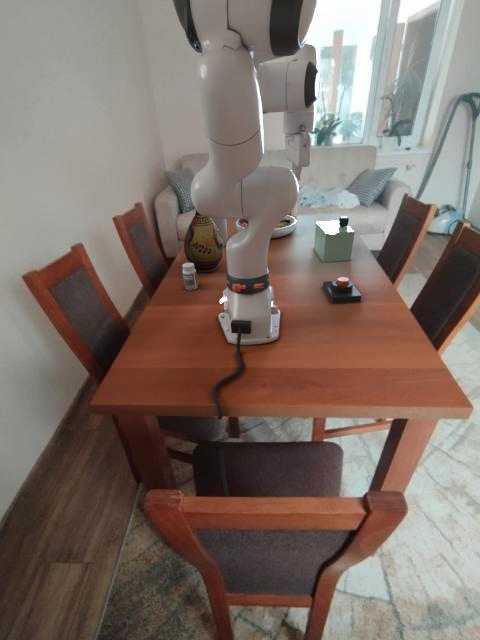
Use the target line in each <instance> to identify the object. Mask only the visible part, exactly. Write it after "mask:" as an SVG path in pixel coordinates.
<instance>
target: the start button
mask: <svg viewBox="0 0 480 640" xmlns="http://www.w3.org/2000/svg"><path fill="white" fill-rule="evenodd" d="M336 279H337V285H339V286H347V285H348V282H349V280H350V278H349V277H345V276H339V277H337V278H336Z"/></svg>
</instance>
